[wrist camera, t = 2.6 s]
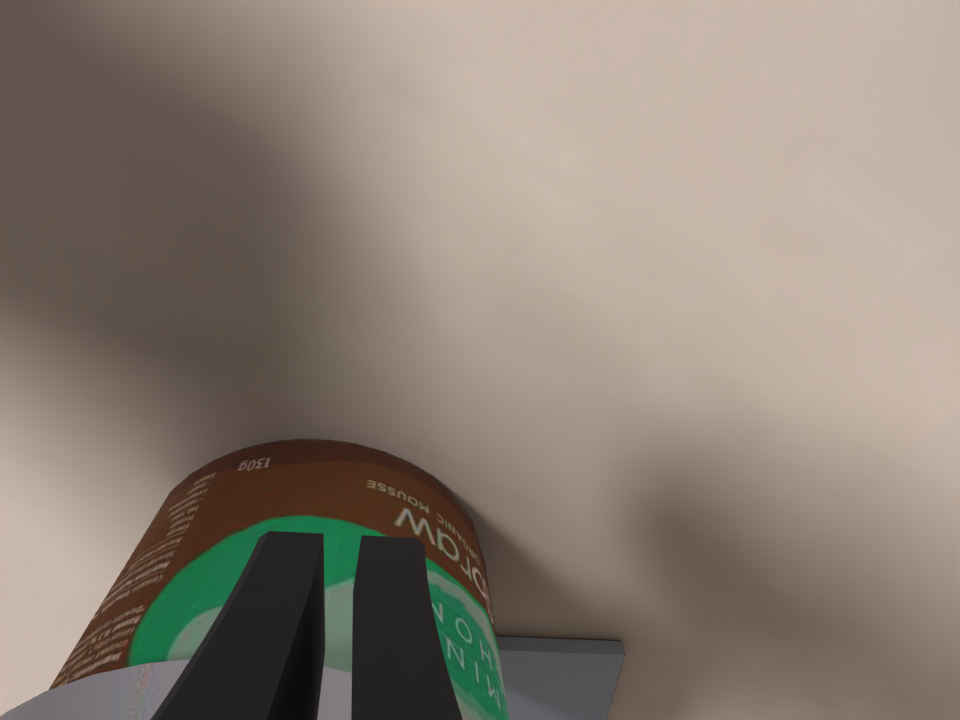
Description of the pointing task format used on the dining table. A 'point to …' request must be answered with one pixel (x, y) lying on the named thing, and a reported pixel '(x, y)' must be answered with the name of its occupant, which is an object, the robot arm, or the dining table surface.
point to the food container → (225, 552)
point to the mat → (559, 677)
